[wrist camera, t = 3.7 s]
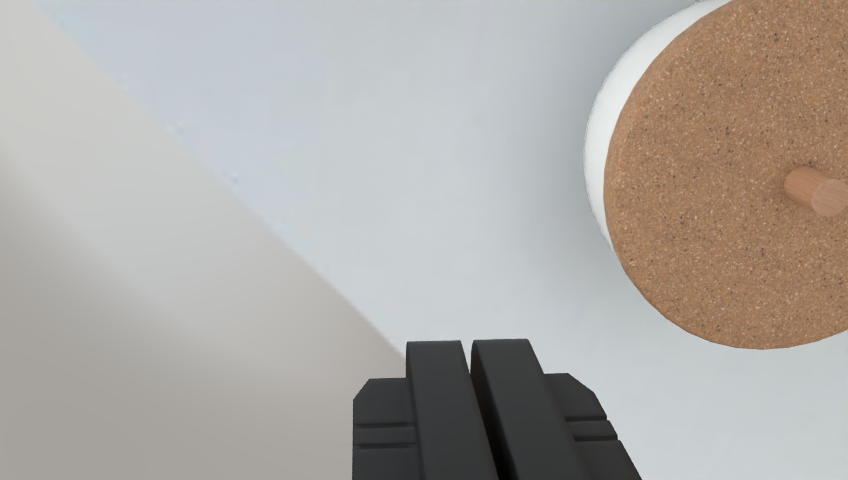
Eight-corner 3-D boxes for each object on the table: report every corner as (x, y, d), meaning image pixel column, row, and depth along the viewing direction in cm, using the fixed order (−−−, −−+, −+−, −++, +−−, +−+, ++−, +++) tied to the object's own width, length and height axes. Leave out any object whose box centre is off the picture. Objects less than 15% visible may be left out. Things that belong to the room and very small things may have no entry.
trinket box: (746, 295, 32) (894, 420, 23) (505, 213, 30) (566, 316, 21) (880, 40, 29) (1109, 73, 20) (622, -69, 27) (750, -86, 18)
